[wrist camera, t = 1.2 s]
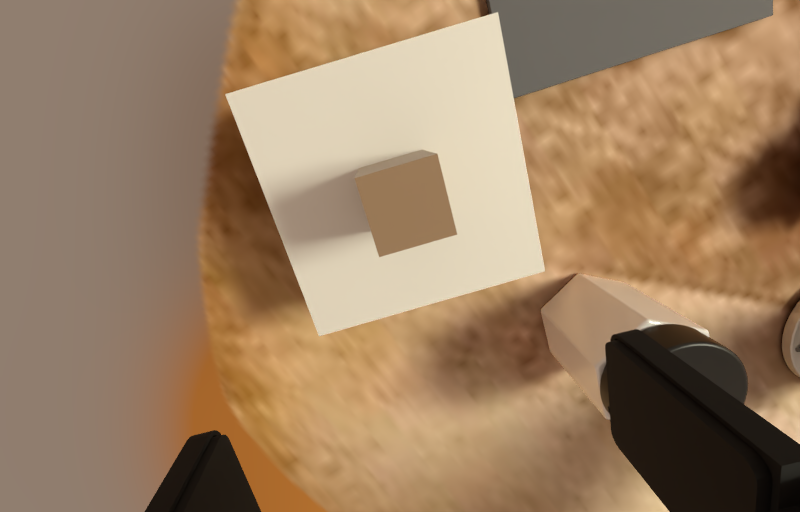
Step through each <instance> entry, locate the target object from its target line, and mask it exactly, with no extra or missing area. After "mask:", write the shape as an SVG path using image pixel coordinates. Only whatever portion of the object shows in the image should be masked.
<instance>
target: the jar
mask: <svg viewBox="0 0 800 512" xmlns="http://www.w3.org/2000/svg"><path fill="white" fill-rule="evenodd" d="M541 315H542V319H543V324H544V328H545V332H546V336H547V341H548V345H549V349H550V352H551V353H552V354H553V356H554V357H555V358H556V359H557V360H558V362H559V363H560V364H561V365H562V367H563V368H564V369H565V370H566V371H567V373H568V374H569V375H570V376H571V377H572V379H573V380H574V381H575V382H576V384H577V385H578V386H579V387H580V388H581V390H582V391H583V392H584V393H585V394H586V396H587V397H588V398H589V399H590V401H591V402H592V403H593V404H594V405H595V407H596V408H597V409H598V410H599V411H600V413H601V414H602V415H603V416H604V418H605V419H607V420H610V407H609V394H608V380H607V367H606V354H605V345H606V343H607V342H610V339H611V336H612V335H613V334H617V333H621V332H625V331H630V330H634V329H638V330H640V331H642V332H644V333H645V334H646V335H648V336H649V337H651V338H652V339H653V340H655V341H656V342H658V343H659V344H660V345H662V346H663V347H664V348H666V349H667V350H669V351H670V352H671V353H673V354H674V355H676V356H677V357H678V358H680V359H681V360H683V361H684V362H685V363H687V364H688V365H690V366H691V367H692V368H694V369H695V370H697V371H698V372H699V373H701V374H702V375H704V376H705V377H706V378H708V379H709V380H711V381H712V382H713V383H715V384H716V385H718V386H719V387H720V388H722V389H723V390H724V391H726V392H727V393H729V394H730V395H731V396H733V397H734V398H736V399H737V400H738V401H740V402H741V403H743V404H744V402H745V399H746V395H747V389H748V379H747V374H746V370H745V368H744V365H743V363H742V362H741V360H740V359H739V358H738V357H737V355H736V354H734V353H733V352H732V351H731V350H729V349H728V348H726V347H725V346H723V345H721V344H720V343H718V342H716V341H715V340H713V339H711V338H710V337H709V331H708V330H707V329H705V328H703V327H702V326H700V325H698V324H696V323H695V322H693V321H691V320H689V319H688V318H686V317H684V316H683V315H681V314H679V313H677V312H676V311H674V310H672V309H670V308H669V307H667V306H665V305H663V304H662V303H660V302H658V301H657V300H655V299H653V298H651V297H650V296H648V295H646V294H644V293H643V292H641V291H639V290H638V289H636V288H634V287H632V286H631V285H629V284H627V283H625V282H622V281H616V280H611V279H606V278H601V277H595V276H590V275H585V274H577V275H576V276H575V277H574V278H572V279H571V280H570V281H569V282H568V283H567V284H566V285H565V286H564V287H563V288H562V289H561V290H560V291H559V292H558V293H557V294H556V295H555V296H554V297H553V298H552V299H551V300H550V301H549V302H548V303H546V304H545V305H544V306H543V307H542V308H541Z"/></svg>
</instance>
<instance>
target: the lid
mask: <svg viewBox="0 0 800 512" xmlns="http://www.w3.org/2000/svg"><path fill="white" fill-rule="evenodd" d="M225 95H226V97H227V100H228V103H229V105H230V108H231V110H232V113H233V115H234V118H235V121H236V123H237V126H238V128H239V131H240V134H241V136H242V139H243V141H244V144H245V146H246V149H247V152H248V154H249V157H250V159H251V162H252V164H253V167H254V170H255V172H256V175H257V177H258V180H259V182H260V185H261V188H262V190H263V193H264V195H265V198H266V201H267V203H268V206H269V208H270V211H271V213H272V216H273V219H274V221H275V224H276V226H277V229H278V231H279V234H280V237H281V239H282V242H283V244H284V247H285V249H286V252H287V255H288V257H289V260H290V262H291V265H292V267H293V270H294V273H295V275H296V278H297V280H298V283H299V286H300V288H301V291H302V293H303V296H304V298H305V301H306V304H307V306H308V309H309V311H310V314H311V316H312V319H313V322H314V324H315V327H316V329H317V332H318V334H319V336H322V335H325V334H329V333H332V332H336V331H339V330H343V329H346V328H349V327H353V326H356V325H360V324H363V323H367V322H370V321H374V320H377V319H381V318H384V317H388V316H391V315H395V314H398V313H402V312H405V311H409V310H412V309H416V308H419V307H423V306H426V305H429V304H433V303H436V302H440V301H443V300H447V299H450V298H454V297H457V296H461V295H464V294H468V293H471V292H475V291H478V290H482V289H485V288H489V287H492V286H496V285H499V284H502V283H506V282H509V281H513V280H516V279H520V278H523V277H527V276H530V275H534V274H537V273H541V272H544V271H545V268H544V263H543V257H542V252H541V246H540V241H539V235H538V230H537V224H536V219H535V213H534V208H533V202H532V197H531V191H530V186H529V180H528V175H527V169H526V164H525V158H524V153H523V147H522V142H521V136H520V130H519V125H518V119H517V114H516V108H515V103H514V97H513V92H512V86H511V81H510V75H509V70H508V64H507V59H506V53H505V48H504V42H503V37H502V31H501V26H500V20H499V15H498V12H496V13H493V14H490V15H486V16H483V17H480V18H476V19H473V20H470V21H466V22H463V23H460V24H456V25H453V26H450V27H447V28H443V29H440V30H437V31H433V32H430V33H427V34H423V35H420V36H417V37H413V38H410V39H407V40H403V41H400V42H397V43H393V44H390V45H387V46H384V47H380V48H377V49H374V50H370V51H367V52H364V53H360V54H357V55H354V56H350V57H347V58H344V59H340V60H337V61H334V62H331V63H327V64H324V65H321V66H317V67H314V68H311V69H307V70H304V71H301V72H297V73H294V74H291V75H287V76H284V77H281V78H277V79H274V80H271V81H268V82H264V83H261V84H258V85H254V86H251V87H248V88H244V89H241V90H238V91H234V92H231V93H228V94H225Z"/></svg>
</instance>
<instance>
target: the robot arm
mask: <svg viewBox="0 0 800 512" xmlns="http://www.w3.org/2000/svg"><path fill="white" fill-rule="evenodd" d="M782 351H783V357H784V360H785V362H786V364H787V366H788V367H789V369H790V370H791V371H792V372H793V373H794V374H795V375H797V376H798V377H800V300H799V302H798V303H797V304H796V306H795V307H794V309H793V310H792V312H791V314H790V316H789V318H788V320H787V322H786V325H785V328H784V332H783V336H782ZM605 354H606V367H607V380H608V394H609V407H610V420H611V432H612V436H613V438H614V441H615V443H616V444H617V446H618V447H619V449H620V450H621V451H622V453H623V454H624V455H625V456H626V458H627V459H628V460H629V461H630V463H631V464H632V465H633V466H634V468H635V469H636V470H637V471H638V473H639V474H640V475H641V476H642V478H643V479H644V480H645V481H646V483H647V484H648V485H649V486H650V488H651V489H652V490H653V491H654V493H655V494H656V495H657V496H658V498H659V499H660V500H661V501H662V503H663V504H664V505H665V506H666V508H667V509H668V510H669V511H670V512H800V444H798V443H797V442H796V441H794V440H793V439H791V438H790V437H789V436H787V435H786V434H784V433H783V432H782V431H780V430H779V429H778V428H776V427H775V426H773V425H772V424H771V423H769V422H768V421H766V420H765V419H764V418H762V417H761V416H759V415H758V414H757V413H755V412H754V411H752V410H751V409H750V408H748V407H747V406H745V405H744V404H743V403H741V402H740V401H738V400H737V399H736V398H734V397H733V396H731V395H730V394H729V393H727V392H726V391H724V390H723V389H722V388H720V387H719V386H718V385H716V384H715V383H713V382H712V381H711V380H709V379H708V378H706V377H705V376H704V375H702V374H701V373H699V372H698V371H697V370H695V369H694V368H692V367H691V366H690V365H688V364H687V363H685V362H684V361H683V360H681V359H680V358H678V357H677V356H676V355H674V354H673V353H671V352H670V351H669V350H667V349H666V348H664V347H663V346H662V345H660V344H659V343H658V342H656V341H655V340H653V339H652V338H651V337H649V336H648V335H646V334H645V333H644V332H642V331H640V330H638V329H634V330H630V331H625V332H621V333H617V334H613V335H612V336H611V339H610V342H607V343H606V345H605ZM145 512H261V511H260V508H259V506H258V504H257V502H256V499H255V497H254V495H253V492H252V490H251V488H250V485H249V483H248V481H247V479H246V477H245V474H244V472H243V470H242V468H241V465H240V463H239V461H238V458H237V456H236V454H235V451H234V449H233V447H232V445H231V442H230V440H229V438H228V437H227V436H226V435H221V434H220V433H219V432H218V431H215V430H214V431H210V432H206V433H202V434H198V435H194V436H191V437H190V438H189V439H188V440H187V442H186V443H185V445H184V447H183V448H182V450H181V452H180V453H179V455H178V457H177V458H176V460H175V462H174V463H173V465H172V467H171V468H170V470H169V472H168V474H167V475H166V477H165V478H164V480H163V482H162V484H161V485H160V487H159V489H158V490H157V492H156V494H155V495H154V497H153V499H152V500H151V502H150V504H149V506H148V507H147V509H146V510H145Z"/></svg>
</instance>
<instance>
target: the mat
mask: <svg viewBox="0 0 800 512" xmlns="http://www.w3.org/2000/svg"><path fill="white" fill-rule="evenodd" d="M486 1H487V6H488V11H489V15H490V14H493V13H496V12H498V15H499V20H500V26H501V31H502V37H503V42H504V48H505V53H506V59H507V64H508V70H509V75H510V81H511V86H512V92H513V97H514V98H516V97H519V96H522V95H525V94H528V93H531V92H535V91H538V90H541V89H544V88H547V87H550V86H553V85H556V84H560V83H563V82H566V81H569V80H572V79H575V78H578V77H581V76H585V75H588V74H591V73H594V72H597V71H600V70H603V69H606V68H610V67H613V66H616V65H619V64H622V63H625V62H628V61H631V60H634V59H638V58H641V57H644V56H647V55H650V54H653V53H656V52H659V51H663V50H666V49H669V48H672V47H675V46H678V45H681V44H684V43H688V42H691V41H694V40H697V39H700V38H703V37H706V36H709V35H713V34H716V33H719V32H722V31H725V30H728V29H731V28H734V27H738V26H741V25H744V24H747V23H750V22H753V21H756V20H759V19H763V18H766V17H769V16H772V15H773V0H486Z"/></svg>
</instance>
